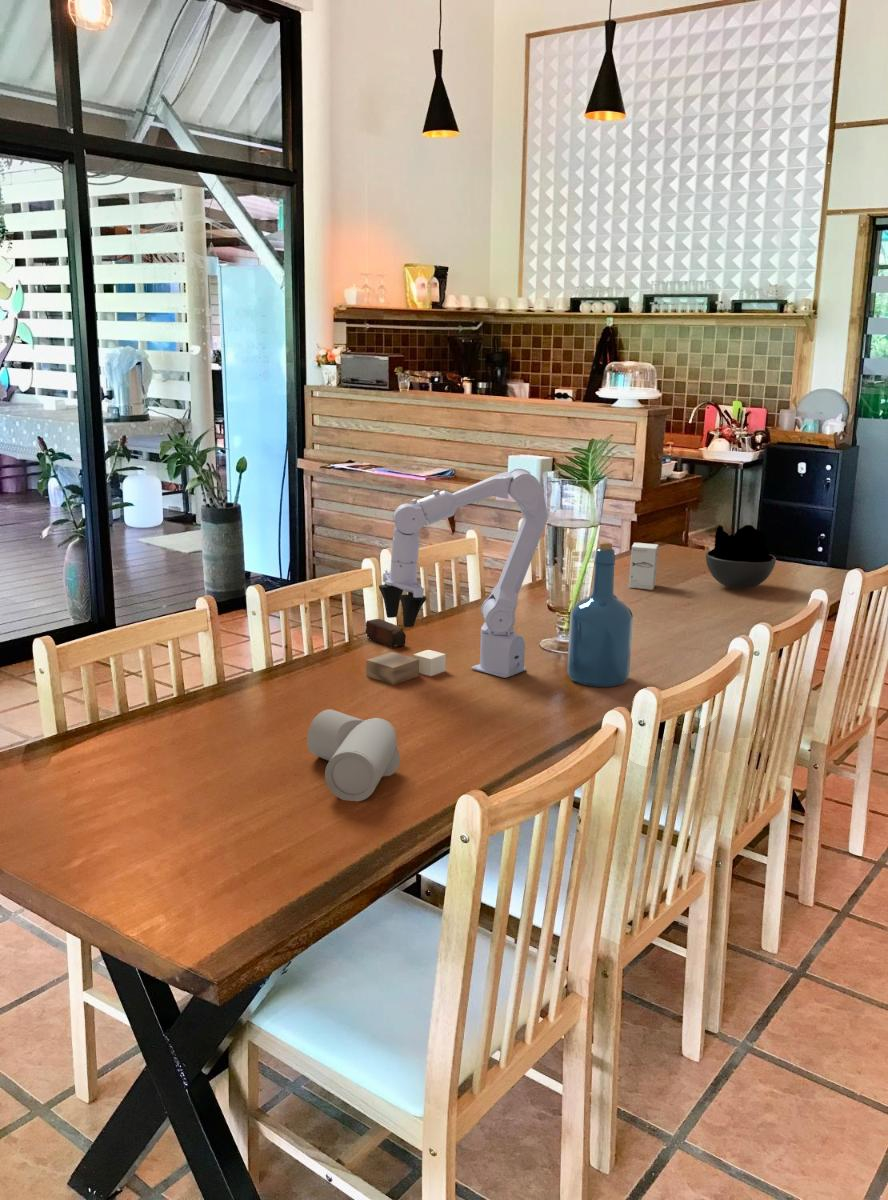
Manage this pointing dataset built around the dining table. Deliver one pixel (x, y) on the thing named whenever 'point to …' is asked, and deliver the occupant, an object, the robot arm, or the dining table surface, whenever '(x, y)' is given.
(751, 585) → the coal bowl
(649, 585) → the supplement box
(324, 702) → the dining table surface
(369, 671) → the base
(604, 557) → the wine bottle
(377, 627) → the brick
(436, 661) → the block
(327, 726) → the grey cylindrical cross piece
